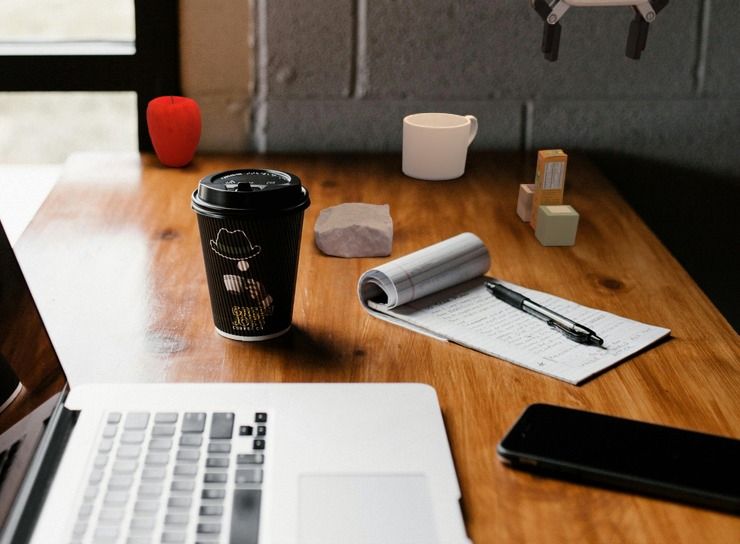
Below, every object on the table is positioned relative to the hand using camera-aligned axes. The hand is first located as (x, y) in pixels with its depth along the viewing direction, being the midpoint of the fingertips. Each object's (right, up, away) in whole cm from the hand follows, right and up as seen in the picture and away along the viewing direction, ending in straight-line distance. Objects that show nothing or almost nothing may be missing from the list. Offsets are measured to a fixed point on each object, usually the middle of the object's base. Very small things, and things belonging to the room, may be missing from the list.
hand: (591, 59), depth 101 cm
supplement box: (-2, -17, +14) cm, 22 cm away
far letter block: (-2, -14, +18) cm, 23 cm away
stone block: (-27, -20, +10) cm, 35 cm away
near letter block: (-1, -19, +10) cm, 22 cm away
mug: (-11, -2, +38) cm, 40 cm away
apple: (-54, 0, +43) cm, 69 cm away
